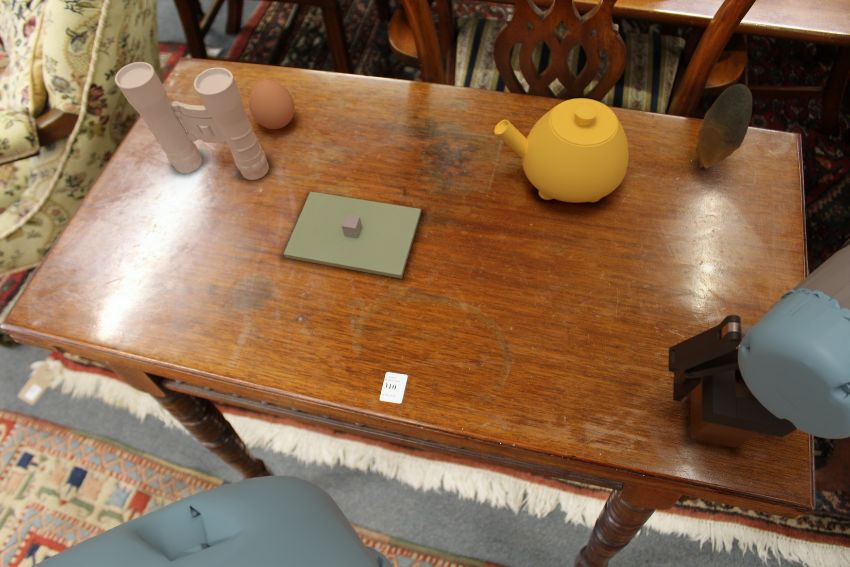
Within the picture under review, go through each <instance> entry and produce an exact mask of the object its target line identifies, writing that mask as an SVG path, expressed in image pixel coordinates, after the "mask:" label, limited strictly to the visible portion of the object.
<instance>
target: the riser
mask: <svg viewBox="0 0 850 567" xmlns="http://www.w3.org/2000/svg"><path fill="white" fill-rule="evenodd" d="M735 388H736V397H740V398H746V399H751V400H756V401H757V399H756V397H755V396H754V395H753V394H752V392H751V391H750V390H749V388H748V386H747V385H746V383H745V381H744V380H742V379H737V378H735ZM689 394H690V396H689V397H690V402H689V407H690V408H689V412H690V413H689V420H690V421H689V439H690V440H695V441H699V442H706V443H710V444H714V445H718V446H723V447H728V448H736V447H738V446H740V445H741V444H743V443H745V442H747V441H748V440H751V439H752V438H754V437H756V436H758V435H759V434H760V433H758V432H753V431H748V430H743V429H738V428H733V427H728V426H724V425H719V424H714V423H709V422H704V421H702V382H701V383H700V384H699V385H698V386H697V387H696V388H695V389H693V390H692V391H691V392H690V393H689Z"/></svg>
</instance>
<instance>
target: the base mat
mask: <svg viewBox="0 0 850 567" xmlns="http://www.w3.org/2000/svg"><path fill="white" fill-rule="evenodd" d="M421 216H422V208H417V207H412V206H406V205H400V204H392V203H386V202H380V201H374V200H368V199H367V200H366V199H361V198H354V197H348V196H341V195H336V194H329V193H323V192H316V191H309V193H308V196H307V198H306V200H305V202H304V205H303V207H302V210H301V212H300V214H299V217H298V219H297V221H296V224H295V226H294V229H293V231H292V233H291V235H290V238H289V240H288V242H287V245H286V247H285V250H284V252H283V256H284V258H286V259H290V260H296V261H302V262H307V263H312V264H317V265H323V266H328V267H329V266H330V267H333V268H334V267H335V268H340V269H345V270H346V269H347V270H351V271H357V272H362V273H367V274H374V275H379V276H384V277H391V278H396V279H403V276H404V273H405V270H406V267H407V264H408V260H409V256H410V253H411V250H412V246H413V243H414V240H415V236H416V233H417V231H418V230H417V229H418V226H419V223H420V219H421Z"/></svg>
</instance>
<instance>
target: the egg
mask: <svg viewBox="0 0 850 567" xmlns="http://www.w3.org/2000/svg"><path fill="white" fill-rule="evenodd" d="M295 106H296V105H295V101H294V98H293V95H292V94H291V93H290V91H289V89H288V88H286V86H284V85H283V84H282V83H281V82H278V81H277V80H274V79H268V78H267V79H262V80H260V81H257V82H256V83H255V84H254V85H253V86H252V88H251V90H250V92H249V95H248V109H249V111H250V114H251V116H252V118H253V119H254V121H255V122H257V124H259V125H260V126H261V127H263V128H265V129H270V130H280V129H283V128H284V127H286V126H287V125H289V124H290V122H291V121H292V119H293V117H294V114H295V110H296V109H295V108H296V107H295Z"/></svg>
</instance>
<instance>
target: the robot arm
mask: <svg viewBox="0 0 850 567" xmlns="http://www.w3.org/2000/svg"><path fill="white" fill-rule="evenodd" d="M741 319H742V318H741V316H740V315H737V314H729V315H727V316H725V317H724V318H723V320H721V321H720V323H719V324H717V325H715V326H713V327H711V328H708V329H706V330H704V331H701V332H700V333H698V334H695V335H693V336H692V337H689V338H687V339H685V340H683V341H680V342H679V343H676V344H674V345H671V346H670V347H669V348H668V362H667V363H668V364H667V366H668V367H667V368H668V369H667V370H668V372H670V373H673V382H672V383H673V384H672V386H673V387H672V388H673V389H672V401H674V402H679V403H680V402H681V401H683V400H684V399H685V398H686V397H687V396H688V395H689V394H690V392H691V391H692V390H693V389H695V388H696V387H697V386H698V385H699V384H700V383H701V382H702V376H707V375H712V374H717V373H722V372H727V371H732V370H737V369H740V372H741V375H742V377H743V379H744V381H745V383H746V385H747V386H748V388H749V390H750V391H751V392H752V394H753V395H754V396H755V397H756V399H757V400H758V401H759V402H760V403H761V404H762V405H763V406H764V407H765V408H766V409H767V410H769V411H770V412H771V413H772V414H774V415H775V416H776V417H777V418H780V419H787V420H789V421H791V422H792V423H793V424H794V426H795V427H796V428H797V430H798V431H801V432H803V433H805V434H807V435H811V436H814V437H818V438H821V439H822V438H823V439H828V440H841V439H842V440H843V439H847V438H850V238H849V239H847V241H845V242H844V243H843V244H842V245H841V246H840V247H839V249H838V250H836V252H834V253H833V254H832V255H831V256H829V258H827V259H826V260H825V261H824V262H822V263H821V264H820V265H819V266H818V267H817V268H816V269H815V270H813V271H811V273H809V274H808V275H807V276H806V277H805V278H803V279H802V280H801V281H800V282H799V283H798V284H797V285H796V286H794V287H793V288H792V289H790V290H788V291H787V292H785V293H784V294H783V295H781V297H780V298H779V299H778V300H777V301H776V302H775V303H774V304H773V305H772V306H771V307H770V309H769V310H767V312H766V313H765V314H763V315H762V316H761V317H760V319H758V320H757V322H756V323H755V324H753V325H748V324H742V320H741ZM30 567H394V565H393V563H392V562H391V561H390V560H389V558H388V557H387V556H386V554H383V553H381V552H380V551H378V550H377V549H375V548H373V547H372V546H369V545H366V544H365V543H364V541H363V540H362V538H361V537H360V535H359V534H358V532H357V531H356V529H355V528H354V527H353V525H352V524H351V522H350V521H349V519H348V517H346V515H345V513H344V512H343V510H342V509H341V508H340V506H339V505H338V503H337V502H336V501H335V500H334V498H332V496H331V495H330V494H329V493H328V492H327V491H325V490H324V489H323V488H322V487H321V486H319V485H317V484H316V483H313V482H311V481H309V480H308V479H303V478H300V477H297V476H291V475H266V476H256V477H251V478H246V479H241V480H238V481H235V482H230V483H226V484H222V485H219V486H215V487H213V488H209V489H206V490H202V491H200V492H197V493H194V494H191V495H189V496H185V497H184V498H181V499H178V500H175V501H173V502H170V503H169V504H167V505H164V506H162V507H160V508H158V509H156V510H154V511H151V512H148V513H146V514H144V515H141V516H138V517H136V518H133V519H131V520H128V521H125V522H122V523H121V524H119V525H116V526H114V527H112V528H109V529H107V530H105V531H102V532H101V533H98V534H96V535H94V536H91V537H89V538H87V539H85V540H83V541H81V542H77V543H76V544H74V545H72V546H70V547H67V548H66V549H64V550H62V551H60V552H58V553H55V554H54V555H52V556H50V557H48V558H46V559H43V560H42V561H40V562H37V563H35V564H33V565H31V566H30Z"/></svg>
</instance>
